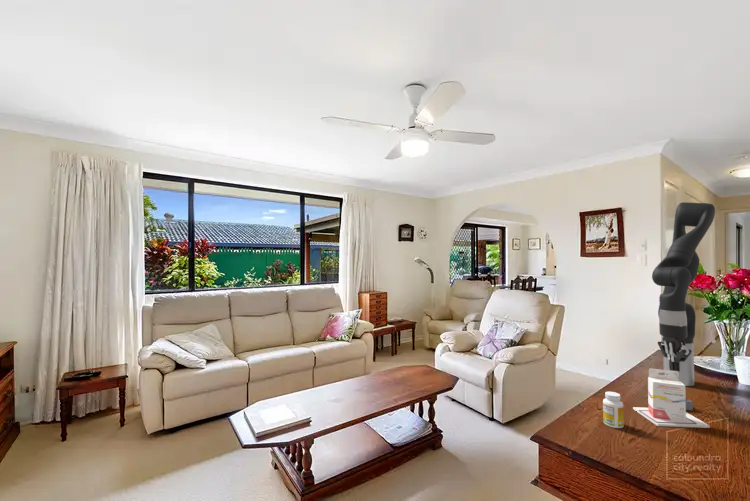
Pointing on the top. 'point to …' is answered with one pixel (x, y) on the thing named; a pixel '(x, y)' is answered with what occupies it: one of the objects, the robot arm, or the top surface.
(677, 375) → the ink cartridge box
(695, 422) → the sheet
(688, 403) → the button housing
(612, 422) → the supplement bottle
